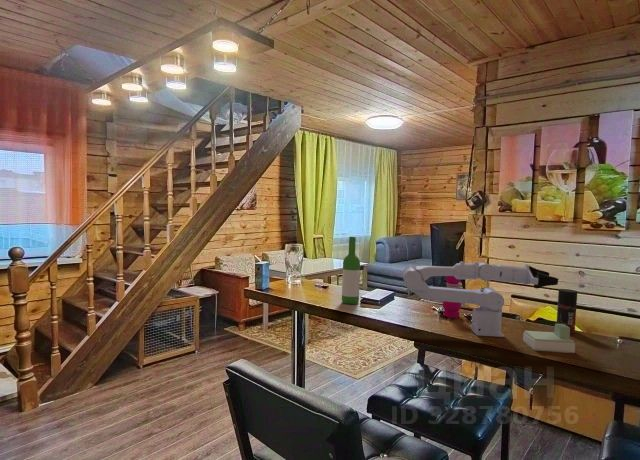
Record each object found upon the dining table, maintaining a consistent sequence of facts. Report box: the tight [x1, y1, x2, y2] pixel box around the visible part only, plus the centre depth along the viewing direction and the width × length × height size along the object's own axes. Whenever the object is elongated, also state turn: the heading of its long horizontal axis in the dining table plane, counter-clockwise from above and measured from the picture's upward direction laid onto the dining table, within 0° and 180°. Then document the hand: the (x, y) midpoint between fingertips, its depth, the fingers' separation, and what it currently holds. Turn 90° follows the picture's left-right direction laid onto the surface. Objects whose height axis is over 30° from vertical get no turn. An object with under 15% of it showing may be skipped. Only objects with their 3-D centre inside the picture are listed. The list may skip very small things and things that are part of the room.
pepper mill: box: [442, 276, 462, 319], centre depth 164 cm, size 7×7×20 cm
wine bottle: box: [341, 236, 361, 305], centre depth 182 cm, size 8×8×30 cm
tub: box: [522, 332, 576, 354], centre depth 130 cm, size 12×9×3 cm
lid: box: [523, 323, 575, 344], centre depth 130 cm, size 12×9×4 cm
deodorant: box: [555, 288, 578, 334], centre depth 149 cm, size 6×6×15 cm
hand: (553, 278), depth 139 cm, fingers open, 7 cm apart
